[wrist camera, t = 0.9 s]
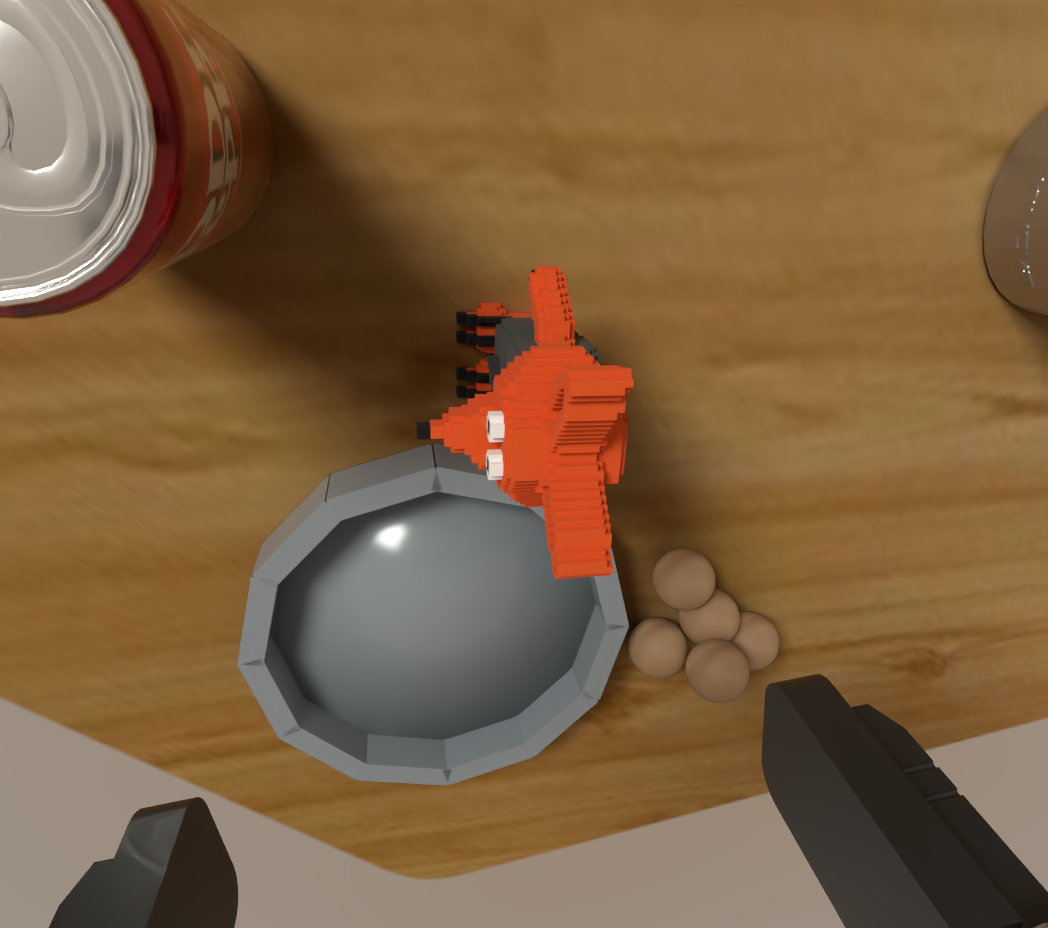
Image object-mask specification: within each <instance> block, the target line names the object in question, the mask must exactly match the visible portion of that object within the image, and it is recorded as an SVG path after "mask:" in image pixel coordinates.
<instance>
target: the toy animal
mask: <svg viewBox="0 0 1048 928" xmlns="http://www.w3.org/2000/svg"><path fill="white" fill-rule="evenodd" d="M560 270H561V268H559V267H552V266H535V270H531V272H529V284H528V290H529V298H530V305H531V312H506V309H505V308H501V304H500V303H481V307H476V312H457V324H467V325H468V326H476V329H475V331H457V343H467V344H468V345H476V348H477V349H480V351H481V352H486V353H495V354H494V355H488V359H480V363H475V368H457V380H463V379H467V382H475V385H474V386H457V397H467V400H468V405H461V407H449V411H448V413H442V419H438V420H429V421H430V422H417V439H442V438H443V442H444V447H450V450H451V453H462V452H464V454H465V455H470V458H471V461H472V463H477V466H478V469H487V477H488V480H496V483H497V486H498V489H503V491H504V494H509V496H510V499H511V500H515V501H516V503H518V502H520V504H521V505H525V507H543V509H544V518H545V527H546V537H547V546H548V548H549V551H550V553H551V563H552V565H553V566H552V572H553V575H554V577H555V579H563V578H578V577H593V576H608V575H610V574H611V573H613V569H614V567H613V565H612V556H611V554H610V551H611V541H612V534H611V532H610V527H611V525H610V523H609V514H608V512H607V510H608V505H607V504H606V495H605V484H618V481H619V478H621V474H623V473H624V463H625V454H626V445H627V435H628V426H629V424H628V423H627V414H626V413H625V409H626V398H627V393H630V388H633V384H634V379H633V378H631V377H632V369H631V368H630V367H623V368H622V367H621V366H620V365H604V366H601V361H600V360H599V356H600V353H599V352H598V351H597V350H596V349H594V347H593V346H592V345H591V344H590V343H589V342H588V341H587V340H586V339H585V338H584V337H583V336H578V333H577V332H576V331H575V330H574V329H575V320H574V312H573V311H571V303H570V296H569V295H568V288H567V281H566V274H564V273H560Z"/></svg>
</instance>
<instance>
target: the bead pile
mask: <svg viewBox="0 0 1048 928" xmlns="http://www.w3.org/2000/svg"><path fill="white" fill-rule="evenodd" d="M653 586H654V589H655V592H656V594H657V595H658V597H659V598H660V599H661V600H662V601H663V602H664V603H665V604H666V605H668V606H669V607H671V608H674V609H677V610H679V622H680V626H681V628H682V630H683V632H684V633H683V632H682V630H681V629H680V628H679V627H678V626H677V625H676V624H675V623H673V622H672V621H670V620H668V619H665V618H659V617H653V618H649V619H646V620H644V621H642V622H640V623H639V624H638V625H637V626H636V627H635V628H634V629H633V631H632V632H631V635H630V637H629V642H628V650H629V655H630V658H631V660H632V662H633V664H634V665H635V666H636V668H637V669H638V670H639V671H641V672H642V673H644V674H645V675H647V676H650V677H654V678H665V677H669V676H672V675H674V674H675V673H677V672H678V671H679V670H680V669H681V668H682V666H683V665H684V663H685V661H686V667H685V670H686V676H687V680H688V682H689V684H690V686H691V687H692V689H693V690H694V691H695V692H696V693H697V694H698V695H699V696H700V697H702V698H704V699H706V700H708V701H711V702H715V703H725V702H729V701H732V700H734V699H736V698H737V697H739V696H740V695H741V694H742V693H743V692H744V690H745V689H746V687H747V684H748V681H749V675H750V672H749V671H753V670H760V669H762V668H765V667H766V666H768V665H769V664H771V663H772V662H773V660H774V659H775V658H776V656H777V653H778V650H779V636H778V633H777V631H776V629H775V627H774V625H773V624H772V623H771V622H770V621H769V620H768V619H767V618H765V617H764V616H762V615H760V614H758V613H755V612H740V613H739V610H738V608H737V605H736V604H735V602H734V600H733V599H732V598H731V597H730V596H729V595H728V594H726V593H725V592H723V591H721V590H719V589H716V588H715V573H714V570H713V568H712V566H711V564H710V562H709V561H708V560H707V559H706V558H705V557H704V556H703V555H702V554H700V553H698V552H696V551H694V550H691V549H684V548H683V549H675V550H672V551H669V552H667V553H666V554H664V555H663V556H662V557H661V558H660V559H659V560H658V562H657V563H656V565H655V567H654V571H653ZM684 634H685V635H686V636H687V637H688V638H689V639H690V640H691V641H692V642H694V643H695V644H697V645H695V646H694V647H693V649H692V650H691V651H690V653H689V655H688V644H687V640H686V637H685V635H684ZM687 655H688V657H687ZM686 658H687V660H686Z"/></svg>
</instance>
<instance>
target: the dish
mask: <svg viewBox="0 0 1048 928" xmlns="http://www.w3.org/2000/svg"><path fill="white" fill-rule="evenodd" d="M610 554H611V556H612V565H613V567H614V569H613V573H611V574H610V575H608V576H593V577H578V578H563V579H555V577H554V575H553V572H552V566H553V565H552V563H551V553H550V551H549V548H548V546H547V537H546V527H545V518H544V509H543V507H525V505H521V504H520V502H518V503H516V501H515V500H511V499H510V496H509V494H504V491H503V489H498V486H497V483H496V480H488V477H487V469H478V466H477V463H472V461H471V458H470V455H465V454H464V452H462V453H451V450H450V447H444V445H441V444H436V443H433V446H432V444H431V443H430V444H427V445H424V446H420V447H417V448H414V449H410V450H407V451H404V452H400V453H397V454H394V455H390V456H387V457H384V458H380V459H377V460H374V461H370V462H367V463H364V464H360V465H357V466H354V467H350V468H347V469H344V470H340V471H337V472H334V473H331V475H330V474H329V475H328V476H327V477H326V478H325V479H324V480H323V481H322V482H321V483H320V484H319V485H318V486H317V488H316V489H315V490H314V491H313V492H312V493H311V494H310V495H309V496H308V497H307V498H306V499H305V500H304V501H303V502H302V503H301V504H300V505H299V506H298V507H297V508H296V509H295V510H294V511H293V512H292V513H291V514H290V515H289V516H288V518H287V519H286V520H285V521H284V522H283V523H282V524H281V525H280V526H279V527H278V528H277V529H276V530H275V531H274V532H273V533H272V534H271V535H270V536H269V537H268V538H267V539H266V540H265V541H264V542H263V543H262V545H261V548H260V551H259V554H258V557H257V560H256V563H255V566H254V570H253V573H252V576H251V580H250V587H249V593H248V599H247V606H246V612H245V618H244V625H243V631H242V637H241V643H240V650H239V656H238V662H237V664H238V667H239V669H240V671H241V672H242V674H243V676H244V678H245V680H246V681H247V683H248V685H249V687H250V688H251V690H252V692H253V694H254V695H255V697H256V699H257V701H258V703H259V704H260V706H261V708H262V710H263V711H264V713H265V715H266V717H267V718H268V720H269V722H270V724H271V725H272V727H273V729H274V731H275V733H276V734H277V736H278V738H279V737H280V739H281V740H283V741H284V742H286V743H288V744H290V745H292V746H294V747H296V748H297V749H299V750H301V751H303V752H305V753H307V754H309V755H310V756H312V757H314V758H316V759H318V760H320V761H322V762H324V763H325V764H327V765H329V766H331V767H333V768H335V769H337V770H338V771H340V772H342V773H344V774H346V775H348V776H350V777H351V778H353V779H355V780H356V779H357V778H358V780H362V781H379V782H397V783H414V784H431V785H447V784H448V785H451V784H454V783H457V782H460V781H463V780H466V779H469V778H472V777H475V776H478V775H481V774H484V773H487V772H490V771H493V770H496V769H499V768H502V767H505V766H508V765H511V764H514V763H517V762H520V761H523V760H526V759H529V758H532V757H533V756H536V755H537V754H538V753H539V752H541V751H542V750H543V749H544V748H545V747H546V746H547V745H549V744H550V743H551V742H552V741H553V740H554V739H556V738H557V737H558V736H559V735H560V734H561V733H563V732H564V731H565V730H566V729H567V728H568V727H569V726H571V725H572V724H573V723H574V722H575V721H576V720H578V719H579V718H580V717H581V716H582V715H583V714H585V713H586V712H587V711H588V710H589V709H590V708H591V707H593V706H594V705H595V704H596V703H597V702H598V700H600V698H601V695H602V693H603V690H604V688H605V685H606V683H607V680H608V678H609V675H610V673H611V670H612V668H613V665H614V663H615V660H616V658H617V655H618V653H619V650H620V648H621V645H622V643H623V640H624V638H625V635H626V633H627V630H628V628H629V626H628V625H629V623H628V619H627V614H626V610H625V605H624V601H623V596H622V592H621V587H620V583H619V578H618V574H617V569H616V565H615V560H614V556H613V551H612V548H611V551H610Z"/></svg>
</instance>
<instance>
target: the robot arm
mask: <svg viewBox="0 0 1048 928" xmlns="http://www.w3.org/2000/svg"><path fill="white" fill-rule="evenodd" d="M983 235H984V256H985V259H986V263H987V267H988V271H989V274H990V276H991V278H992V280H993V282H994V283H995V285H996V287H997V289H998V290H999V292H1000V293H1001V294H1002V295H1003V296H1005V297H1006V298H1007V299H1008V300H1009V301H1010V302H1011V303H1012V304H1014V305H1016V306H1018V307H1021V308H1023V309H1025V310H1027V311H1031V312H1035V313H1039V314H1043V315H1047V316H1048V109H1047V110H1046V111H1045V112H1044V113H1043V114H1042V115H1041V116H1040V117H1039V118H1038V119H1037V120H1036V121H1035V122H1034V123H1033V124H1032V125H1031V126H1030V127H1029V129H1028V130H1027V131H1026V132H1025V133H1024V134H1023V136H1022V137H1021V138H1020V140H1019V141H1018V143H1017V144H1016V146H1015V147H1014V149H1013V150H1012V151H1011V153H1010V154H1009V156H1008V157H1007V159H1006V161H1005V163H1004V165H1003V167H1002V170H1001V172H1000V174H999V176H998V178H997V180H996V182H995V184H994V188H993V191H992V194H991V197H990V200H989V203H988V206H987V211H986V218H985V225H984V232H983ZM762 766H763V772H764V776H765V780H766V783H767V786H768V789H769V792H770V794H771V796H772V798H773V801H774V803H775V805H776V806H777V808H778V810H779V812H780V813H781V815H782V817H783V819H784V820H785V822H786V824H787V826H788V827H789V829H790V831H791V833H792V835H793V836H794V838H795V840H796V842H797V843H798V845H799V847H800V849H801V850H802V852H803V854H804V856H805V857H806V859H807V861H808V862H809V864H810V866H811V868H812V870H813V871H814V873H815V875H816V877H817V878H818V880H819V882H820V884H821V885H822V887H823V889H824V891H825V892H826V894H827V896H828V898H829V899H830V901H831V903H832V904H833V906H834V908H835V910H836V912H837V913H838V915H839V917H840V919H841V920H842V922H843V924H844V926H845V927H846V928H1048V892H1047V891H1046V890H1045V889H1044V887H1043V886H1042V885H1041V884H1040V883H1039V882H1038V881H1037V879H1036V878H1035V877H1034V876H1033V875H1032V874H1031V873H1030V871H1029V870H1028V869H1027V868H1026V867H1025V866H1024V864H1023V863H1022V862H1021V861H1020V860H1019V859H1018V858H1017V857H1016V855H1014V853H1013V852H1012V851H1011V850H1010V849H1009V847H1008V846H1007V845H1006V844H1005V843H1004V842H1003V841H1002V839H1001V838H1000V837H999V836H998V835H997V834H996V832H995V831H994V830H993V829H992V828H991V827H990V826H989V824H988V823H987V822H986V821H985V820H984V819H983V818H982V816H981V815H980V814H979V813H978V812H977V811H976V809H975V808H974V807H973V806H972V805H971V804H970V803H969V801H968V800H967V799H966V798H965V797H964V796H963V795H961V796H960V795H959V794H958V792H957V788H956V787H955V785H954V784H953V783H952V782H951V781H950V780H949V778H948V777H947V776H946V775H945V774H944V773H943V772H942V770H941V769H940V768H939V767H938V768H936V767H935V766H934V764H933V760H932V759H931V758H930V757H929V756H928V754H927V753H926V752H925V751H924V750H923V749H922V748H921V746H920V745H919V744H918V743H917V742H916V741H915V739H914V738H913V737H912V736H911V735H910V734H909V733H908V731H907V730H906V729H905V728H903V727H902V726H900V725H899V724H897V723H896V722H894V721H893V720H891V719H890V718H888V717H887V716H885V715H884V714H882V713H881V712H879V711H877V710H876V709H874V708H873V707H871V706H870V705H868V704H865V705H860V706H855V707H850V706H849V704H848V703H847V702H846V701H845V699H844V698H843V697H842V696H841V694H840V693H839V692H838V691H837V690H836V688H835V687H834V686H833V685H832V683H831V682H830V681H829V680H828V679H827V678H826V677H824V676H822V675H820V674H816V675H811V676H806V677H801V678H796V679H791V680H786V681H781V682H776V683H771V684H769V685H768V686H767V688H766V693H765V708H764V725H763V743H762ZM237 908H238V885H237V877H236V872H235V869H234V866H233V863H232V861H231V859H230V857H229V854H228V852H227V850H226V847H225V845H224V843H223V840H222V838H221V836H220V834H219V831H218V829H217V827H216V825H215V822H214V820H213V818H212V815H211V813H210V811H209V808H208V806H207V804H206V802H205V801H204V800H203V799H202V798H199V797H196V798H191V799H186V800H181V801H177V802H172V803H166V804H161V805H157V806H152V807H147V808H142V809H140V810H138V811H137V812H136V813H135V814H134V815H133V817H132V818H131V820H130V822H129V824H128V826H127V829H126V831H125V834H124V836H123V838H122V841H121V843H120V845H119V848H118V850H117V853H116V855H115V858H114V859H109V860H104V861H99V862H94V863H93V865H92V866H91V867H90V869H89V870H88V871H87V872H86V873H85V875H84V876H83V877H82V878H81V879H80V881H79V882H78V883H77V884H76V886H75V887H74V888H73V889H72V891H71V892H70V893H69V894H68V895H67V897H66V898H65V899H64V900H63V902H62V903H61V904H60V905H59V907H58V909H57V911H56V913H55V915H54V918H53V920H52V922H51V924H50V926H49V928H234V926H235V921H236V915H237Z"/></svg>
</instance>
